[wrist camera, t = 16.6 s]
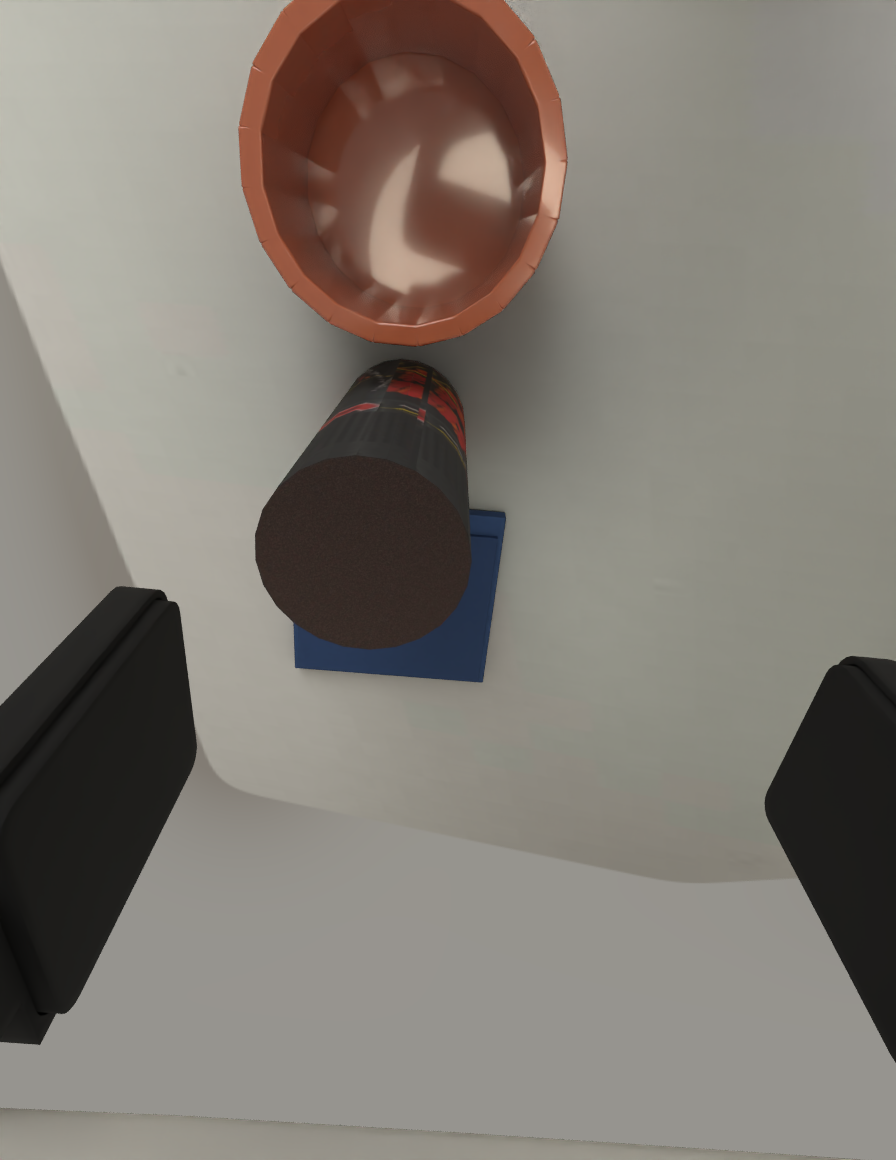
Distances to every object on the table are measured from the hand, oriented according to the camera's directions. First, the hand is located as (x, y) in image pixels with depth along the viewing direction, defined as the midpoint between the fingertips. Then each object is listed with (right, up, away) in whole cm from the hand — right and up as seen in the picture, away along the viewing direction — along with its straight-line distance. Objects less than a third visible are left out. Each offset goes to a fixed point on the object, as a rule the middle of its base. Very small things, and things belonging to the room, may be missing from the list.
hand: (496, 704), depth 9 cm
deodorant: (-3, +10, +21) cm, 24 cm away
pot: (-2, +18, +17) cm, 25 cm away
